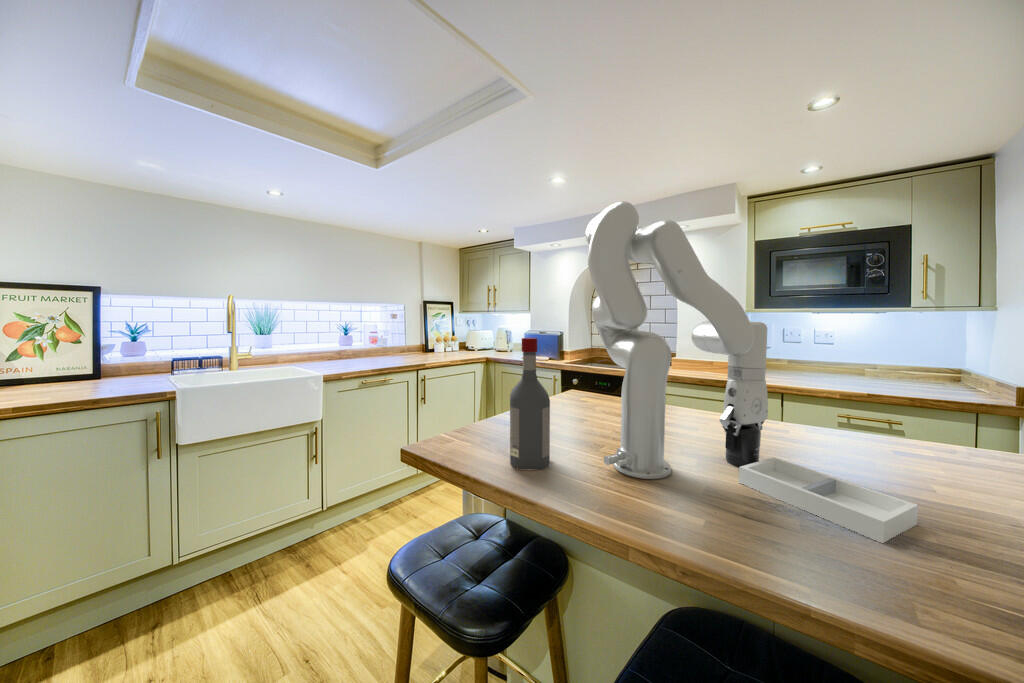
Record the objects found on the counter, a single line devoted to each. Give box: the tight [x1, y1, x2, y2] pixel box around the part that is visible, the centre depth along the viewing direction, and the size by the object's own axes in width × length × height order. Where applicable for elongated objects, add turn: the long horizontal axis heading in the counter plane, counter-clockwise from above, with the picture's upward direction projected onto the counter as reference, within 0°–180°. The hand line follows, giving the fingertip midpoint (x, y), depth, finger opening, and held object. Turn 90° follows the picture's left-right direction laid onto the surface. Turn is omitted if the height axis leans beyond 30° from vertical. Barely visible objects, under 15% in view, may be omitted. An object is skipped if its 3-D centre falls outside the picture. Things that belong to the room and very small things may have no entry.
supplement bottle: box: [725, 418, 761, 467], centre depth 89 cm, size 7×7×12 cm
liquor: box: [509, 337, 551, 470], centre depth 88 cm, size 9×9×30 cm
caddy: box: [738, 456, 919, 544], centre depth 71 cm, size 12×23×4 cm, turn 25°
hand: (742, 447), depth 89 cm, fingers closed on supplement bottle, 6 cm apart
